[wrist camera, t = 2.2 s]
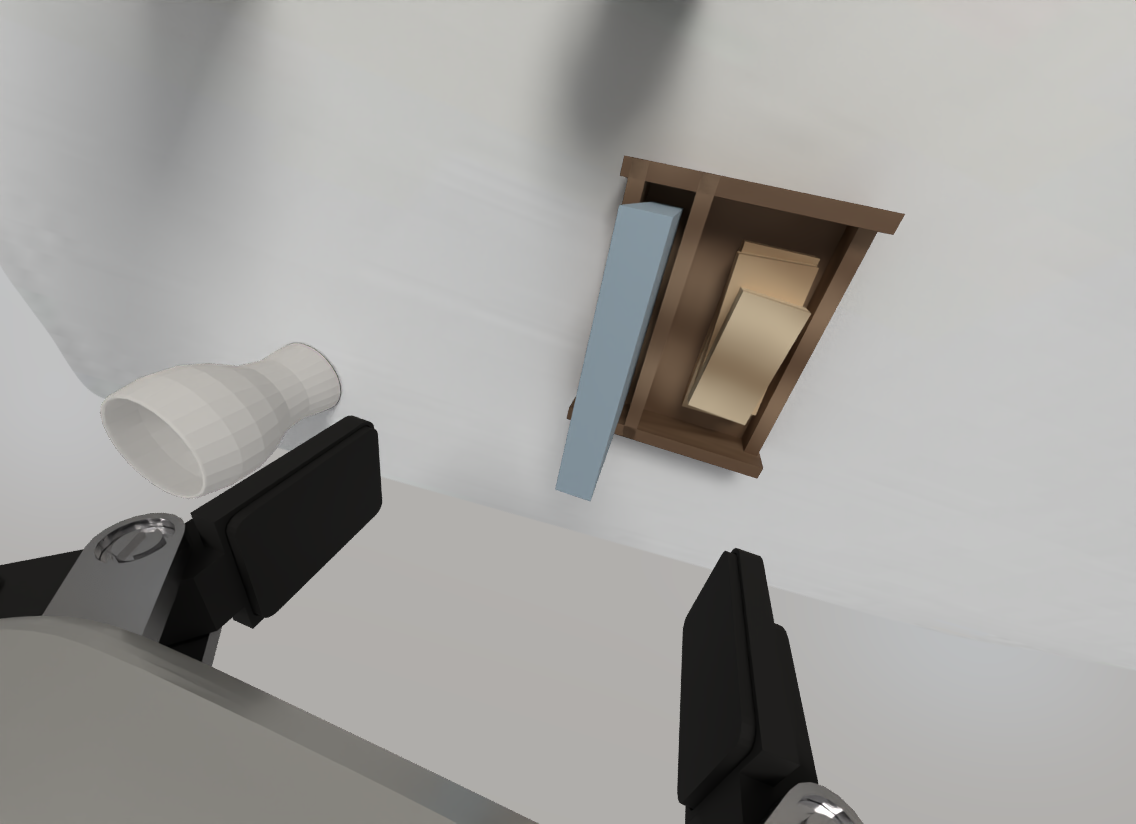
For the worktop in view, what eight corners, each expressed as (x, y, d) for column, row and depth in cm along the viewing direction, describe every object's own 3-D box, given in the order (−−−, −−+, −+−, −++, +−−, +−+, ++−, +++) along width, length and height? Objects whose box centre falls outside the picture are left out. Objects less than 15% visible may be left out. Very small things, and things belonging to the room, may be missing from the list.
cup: (369, 390, 43) (230, 473, 30) (324, 434, 48) (189, 521, 35) (293, 308, 40) (107, 360, 28) (255, 364, 45) (83, 429, 33)
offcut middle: (737, 251, 25) (739, 253, 24) (812, 264, 25) (819, 268, 23) (691, 391, 30) (691, 399, 29) (753, 406, 30) (755, 415, 28)
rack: (634, 161, 27) (624, 155, 23) (872, 211, 25) (905, 213, 21) (580, 395, 36) (566, 418, 32) (750, 446, 34) (757, 478, 30)
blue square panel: (653, 201, 27) (619, 204, 15) (683, 208, 26) (673, 217, 14) (604, 386, 34) (555, 489, 22) (628, 393, 33) (590, 501, 22)
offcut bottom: (742, 239, 26) (745, 241, 25) (814, 255, 26) (820, 258, 24) (682, 397, 32) (681, 405, 31) (738, 414, 32) (740, 423, 30)
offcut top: (740, 286, 25) (743, 291, 24) (805, 307, 24) (811, 313, 23) (688, 395, 29) (687, 404, 28) (742, 415, 28) (744, 425, 27)
